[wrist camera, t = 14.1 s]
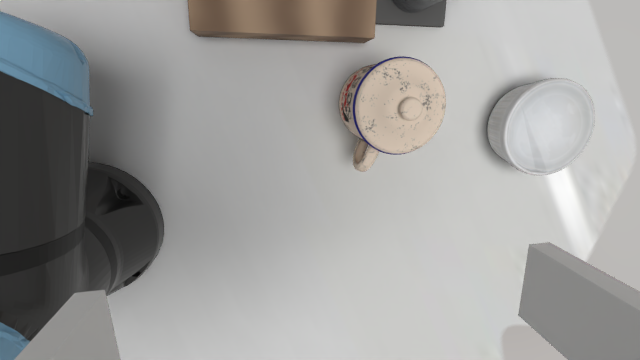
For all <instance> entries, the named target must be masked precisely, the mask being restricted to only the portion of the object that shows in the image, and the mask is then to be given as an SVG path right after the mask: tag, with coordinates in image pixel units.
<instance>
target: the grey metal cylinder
mask: <svg viewBox="0 0 640 360" xmlns="http://www.w3.org/2000/svg"><path fill="white" fill-rule="evenodd" d="M392 1H393V3H394V4H395V5H396V6H397V7H398V8H399V9H401V10H402V11H405V12H409V13H415V12H419V11H421V10H423V9H426V8H428V7H430V6H432V5H434V4H436V3H438V2H440V1H442V0H392Z"/></svg>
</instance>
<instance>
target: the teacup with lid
mask: <svg viewBox="0 0 640 360" xmlns="http://www.w3.org/2000/svg"><path fill="white" fill-rule="evenodd" d="M445 107H446V98H445V92H444V88H443V85H442V83H441V81H440V79H439V77H438V76H437V74H436V73H435V72H434V71H433V70H432V69H431V68H430V67H429V66H428V65H427V64H425V63H423V62H422V61H420V60H417V59H414V58H410V57H394V58H389V59H387V60H384V61H382V62H380V63H378V64H375V65H370V66H366V67H363V68H361V69H359V70H358V71H356V72H355V73H354V74H352V75H351V76H350V77H349V79H348V80H347V81H346V83H345V84H344V86H343V88H342V91H341V94H340V99H339V110H340V115H341V118H342V120H343V122H344V124H345V125H346V127H347V128H348V129H349V130H350V131H351V132H352V133H353V134H355V135H356V136H358V137H359V140H358V143H357V145H356V148H355V151H354V155H353V165H354V168H355V169H356V170H358V171H361V172H365V171H367V170H368V169H369V168H370V167H371V166H372V165H373V163H374V161H375V159H376V158H377V155H378V153H379V151H380V152H383V153H387V154H405V153H409V152H412V151H414V150H416V149H418V148H420V147H422V146H423V145H425V144H426V143H427V142H428V141H429V140H430V139H431V138H432V137H433V136H434V135H435V134H436V132H437V131H438V129H439V127H440V125H441V123H442V120H443V117H444V114H445ZM368 145H369V146H368ZM367 147H368V149H367ZM366 149H367V151H366ZM365 152H366V153H365Z"/></svg>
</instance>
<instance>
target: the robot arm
mask: <svg viewBox="0 0 640 360" xmlns="http://www.w3.org/2000/svg"><path fill="white" fill-rule="evenodd" d="M90 116H93V109H92V107H91V106H90V89H89V65H88V61H87V59H86V57H85V55H84V54H83V52H82V51H81V50H80V49H79V48H78V47H77V46H76V45H75V44H74V43H73V42H72V41H70V40H68V39H67V38H65V37H63V36H61V35H59V34H57V33H55V32H53V31H50V30H48V29H46V28H43V27H41V26H38V25H36V24H33V23H30V22H28V21H25V20H23V19H20V18H17V17H15V16H12V15H9V14H7V13H4V12H1V11H0V360H120V355H119V351H118V346H117V342H116V338H115V333H114V329H113V324H112V320H111V315H110V311H109V306H108V302H107V297H106V296H108V295H110V294H112V293H114V292H116V291H117V290H119V289H121V288H123V287H125V286H127V285H129V284H130V283H132V282H133V281H135V280H136V279H137V278H139V277H140V276H141V275H142V274H143V273H144V272H145V271H146V270H147V269H148V267H149V266H150V264H151V263H152V262H153V260H154V259H155V257H156V256H157V254H158V252H159V250H160V247H161V245H162V241H163V235H164V224H163V218H162V214H161V211H160V209H159V206H158V204H157V202H156V201H155V199H154V197H153V196H152V195H151V193H150V192H149V191H148V190H147V189H146V188H145V186H143V185H142V184H141V183H140V182H139V181H138V180H136V179H135V178H134V177H132V176H130V175H129V174H127V173H125V172H123V171H121V170H119V169H117V168H114V167H111V166H107V165H103V164H98V163H88V153H89V131H90ZM518 315H519V316H520V317H521V318H522V319H523V320H524V321H525V322H526V323H528V324H529V325H530V326H531V327H532V328H533V329H534V330H535V331H537V332H538V333H539V334H540V335H541V336H542V337H543V338H544V339H545V340H546V341H548V342H549V343H550V344H551V345H552V346H553V347H554V348H555V349H556V350H558V351H559V352H560V353H561V354H562V355H563V356H564V357H565V358H567V359H568V360H640V292H639V291H638V290H636V289H634V288H632V287H630V286H628V285H627V284H625V283H623V282H621V281H619V280H617V279H615V278H614V277H612V276H610V275H608V274H606V273H605V272H603V271H601V270H599V269H597V268H595V267H593V266H592V265H590V264H588V263H586V262H584V261H583V260H581V259H579V258H577V257H575V256H573V255H572V254H570V253H568V252H566V251H564V250H562V249H561V248H559V247H557V246H555V245H553V244H551V243H550V242H549V243H539V244H530V245H529V249H528V255H527V262H526V268H525V275H524V281H523V288H522V295H521V301H520V308H519V314H518Z"/></svg>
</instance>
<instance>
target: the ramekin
mask: <svg viewBox="0 0 640 360" xmlns="http://www.w3.org/2000/svg"><path fill="white" fill-rule="evenodd" d="M594 124H595V111H594V106H593V102H592V99H591V97H590V95H589V94H588V92H587V91H586V90H585V89H584V88H583V87H582V86H581V85H580V84H578V83H576V82H574V81H571V80H568V79H563V78H550V79H545V80H541V81H538V82H536V83H532V84H528V85H524V86H520V87H517V88H515V89H513V90H511V91H509V92H508V93H507V94H505V95H504V96H503V97H502V98H501V99H500V100H499V101H498V103H497V104H496V105H495V107H494V109H493V111H492V112H491V115H490V117H489V121H488V131H487V132H488V139H489V142H490V145H491V147H492V148H493V150H494V151H495V152H496V154H498V155H499V156H500V157H501V158H503V159H504V160H506V161H507V162H509V163H510V164H511V165H512V166H513V167H515V168H516V169H518V170H520V171H522V172H524V173H527V174H531V175H548V174H552V173H555V172H558V171H560V170H562V169H564V168H565V167H567V166H569V165H570V164H571V163H572V162H574V161H575V160H576V159H577V158H578V157H579V156H580V154H581V153H582V152H583V150H584V149H585V147H586V146H587V144H588V142H589V140H590V138H591V135H592V132H593V129H594Z"/></svg>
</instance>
